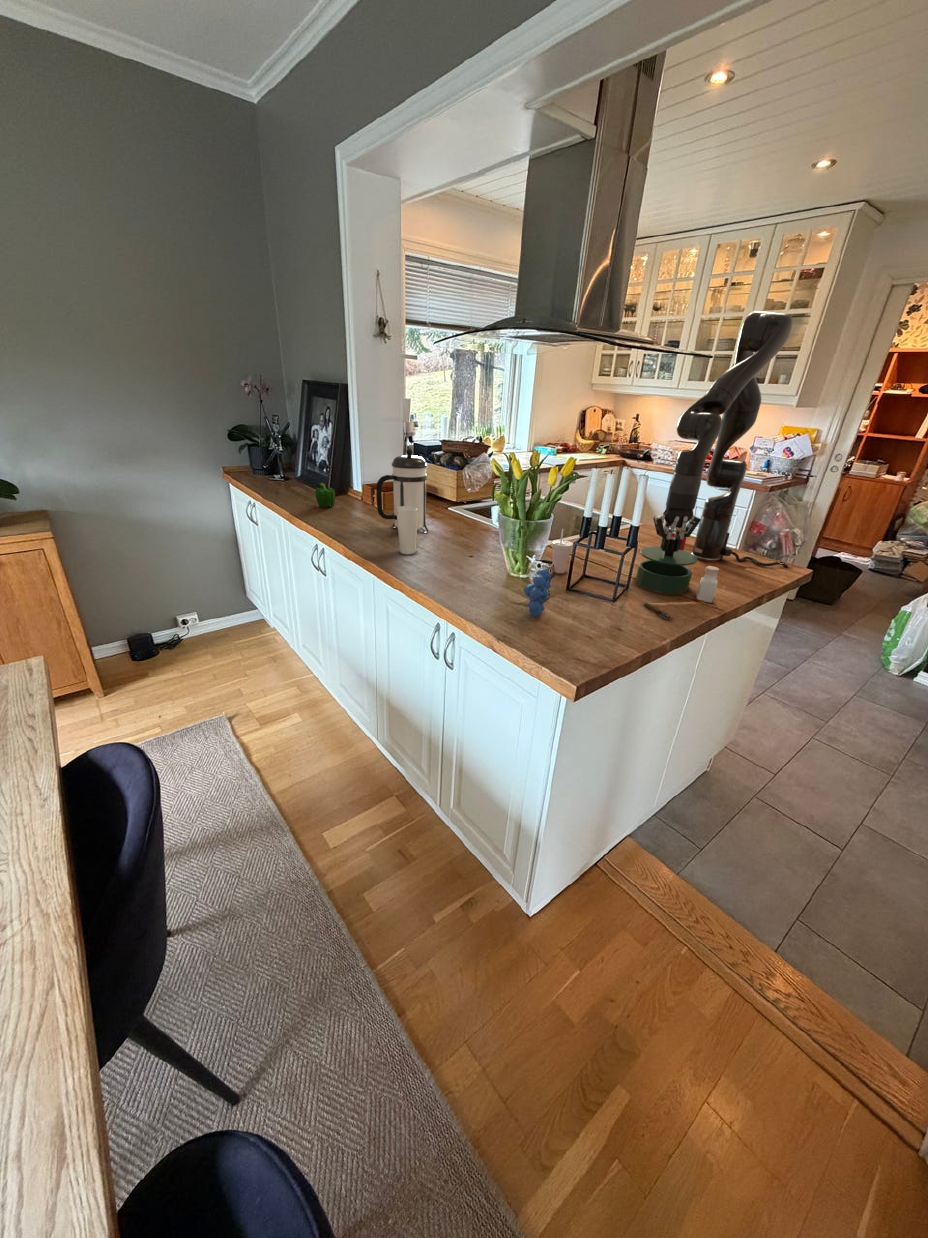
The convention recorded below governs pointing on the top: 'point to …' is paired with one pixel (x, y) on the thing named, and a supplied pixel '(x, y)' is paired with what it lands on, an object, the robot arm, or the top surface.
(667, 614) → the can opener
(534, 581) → the grapes
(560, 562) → the smoothie
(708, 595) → the salt shaker
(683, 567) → the pot
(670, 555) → the lid
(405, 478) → the coffee press
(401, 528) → the drinking glass
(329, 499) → the bell pepper
